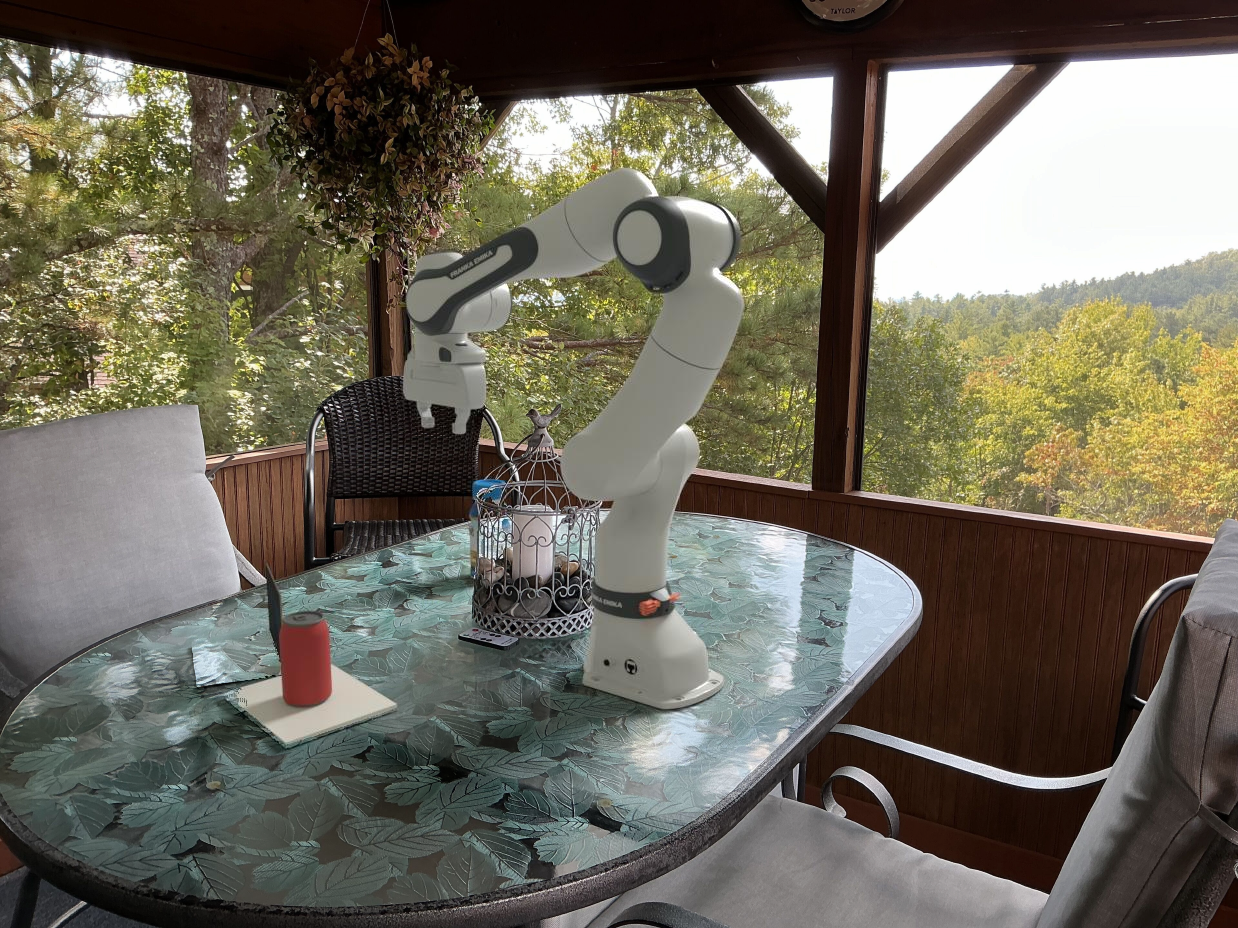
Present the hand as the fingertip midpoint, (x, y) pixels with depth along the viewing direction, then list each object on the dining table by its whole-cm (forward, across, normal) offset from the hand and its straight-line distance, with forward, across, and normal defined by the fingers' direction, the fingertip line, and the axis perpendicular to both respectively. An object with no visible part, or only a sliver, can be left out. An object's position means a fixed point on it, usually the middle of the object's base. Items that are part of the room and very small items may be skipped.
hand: (443, 430), depth 155 cm
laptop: (+35, -7, -35) cm, 50 cm away
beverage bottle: (+34, -14, +20) cm, 42 cm away
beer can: (+33, +16, -34) cm, 50 cm away
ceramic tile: (+34, +16, -34) cm, 51 cm away
